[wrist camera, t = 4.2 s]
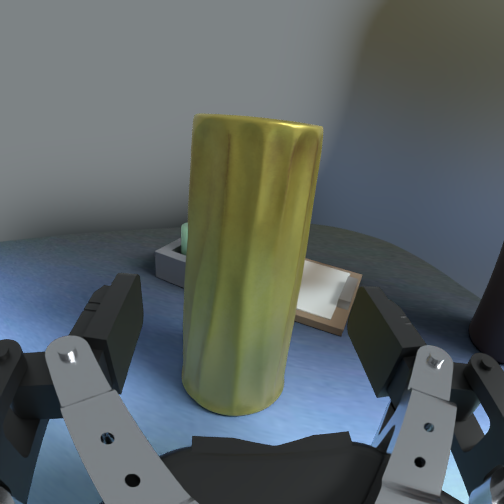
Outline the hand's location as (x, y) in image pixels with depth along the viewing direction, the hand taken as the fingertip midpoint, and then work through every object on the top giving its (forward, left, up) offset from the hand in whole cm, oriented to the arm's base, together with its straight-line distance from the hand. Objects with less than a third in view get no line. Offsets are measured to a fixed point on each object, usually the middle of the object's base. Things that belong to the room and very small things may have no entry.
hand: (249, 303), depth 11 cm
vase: (-2, +3, -8) cm, 9 cm away
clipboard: (-2, +16, -8) cm, 18 cm away
